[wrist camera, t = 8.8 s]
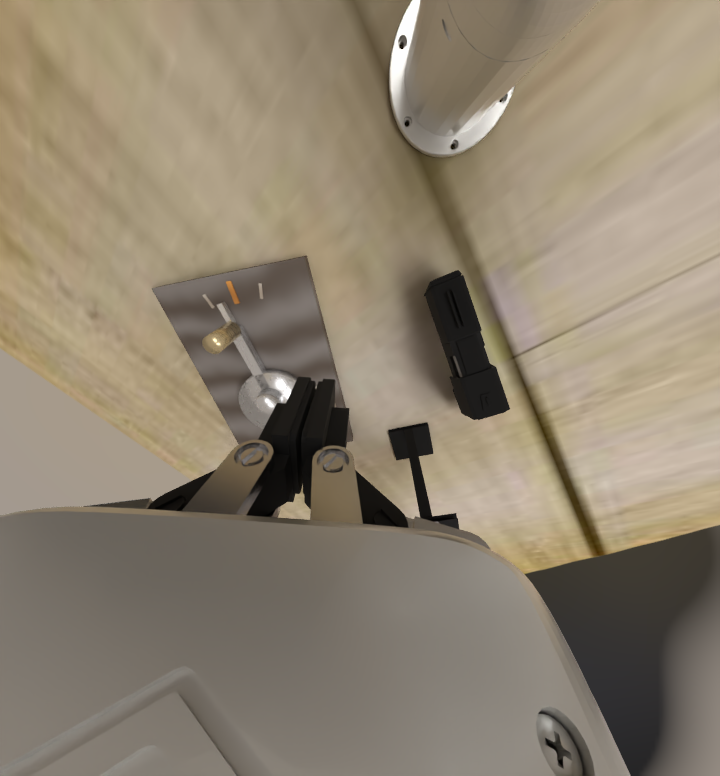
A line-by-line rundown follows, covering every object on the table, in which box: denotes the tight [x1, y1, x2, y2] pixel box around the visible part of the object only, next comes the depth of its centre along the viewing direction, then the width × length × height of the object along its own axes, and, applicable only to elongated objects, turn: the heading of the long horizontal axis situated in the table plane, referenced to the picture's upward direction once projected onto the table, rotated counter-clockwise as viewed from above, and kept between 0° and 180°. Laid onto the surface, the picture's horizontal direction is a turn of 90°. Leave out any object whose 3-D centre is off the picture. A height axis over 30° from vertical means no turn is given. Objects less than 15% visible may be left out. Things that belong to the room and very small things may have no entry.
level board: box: [152, 256, 353, 445], centre depth 43 cm, size 32×22×4 cm
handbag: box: [388, 423, 459, 529], centre depth 39 cm, size 10×8×30 cm
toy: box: [424, 270, 510, 420], centre depth 38 cm, size 5×20×15 cm, turn 23°
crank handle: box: [202, 302, 297, 429], centre depth 39 cm, size 23×12×7 cm, turn 17°
